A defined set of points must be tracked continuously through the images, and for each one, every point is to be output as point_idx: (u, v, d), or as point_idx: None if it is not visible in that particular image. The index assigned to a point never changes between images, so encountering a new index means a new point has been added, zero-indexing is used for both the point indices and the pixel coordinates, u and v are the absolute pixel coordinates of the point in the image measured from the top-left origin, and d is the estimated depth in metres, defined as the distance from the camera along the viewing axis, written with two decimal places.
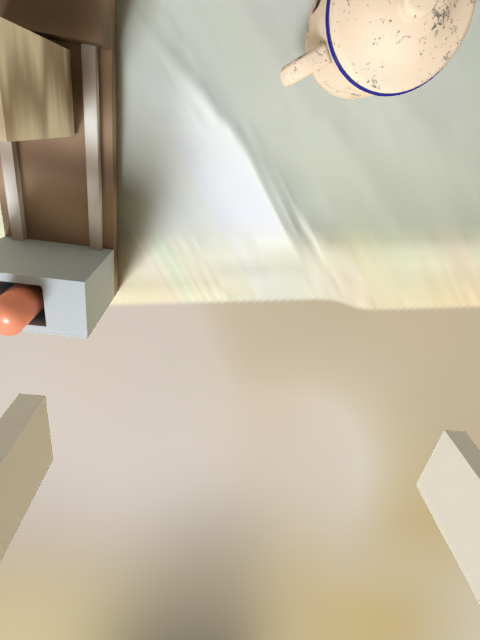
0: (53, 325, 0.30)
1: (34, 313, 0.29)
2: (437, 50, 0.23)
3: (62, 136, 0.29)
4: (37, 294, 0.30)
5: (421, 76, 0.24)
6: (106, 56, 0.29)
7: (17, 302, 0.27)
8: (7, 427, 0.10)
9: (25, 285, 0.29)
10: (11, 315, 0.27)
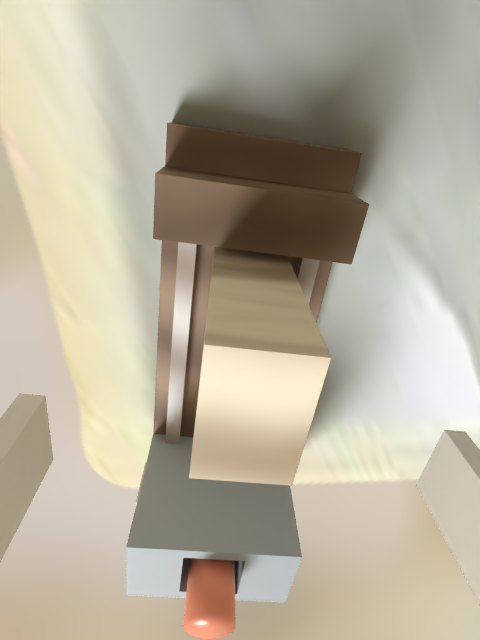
0: (245, 593, 0.23)
1: None
2: None
3: None
4: (232, 561, 0.23)
5: None
6: None
7: (227, 603, 0.20)
8: (7, 427, 0.10)
9: None
10: (220, 623, 0.20)
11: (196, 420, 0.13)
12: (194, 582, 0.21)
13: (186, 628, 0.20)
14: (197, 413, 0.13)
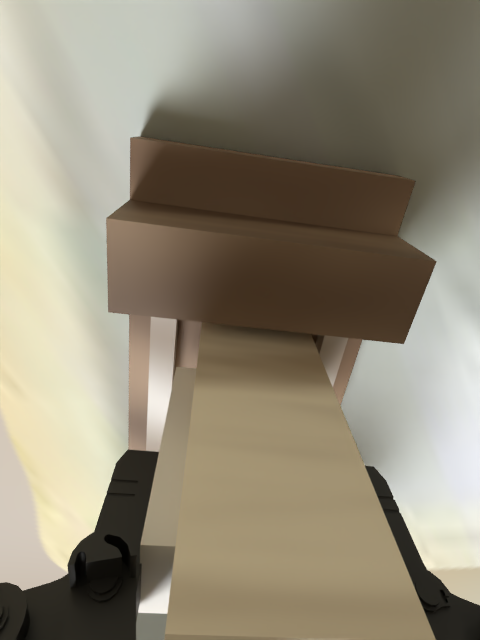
0: None
1: None
2: None
3: None
4: None
5: None
6: None
7: None
8: (181, 391, 0.12)
9: None
10: None
11: None
12: None
13: None
14: None
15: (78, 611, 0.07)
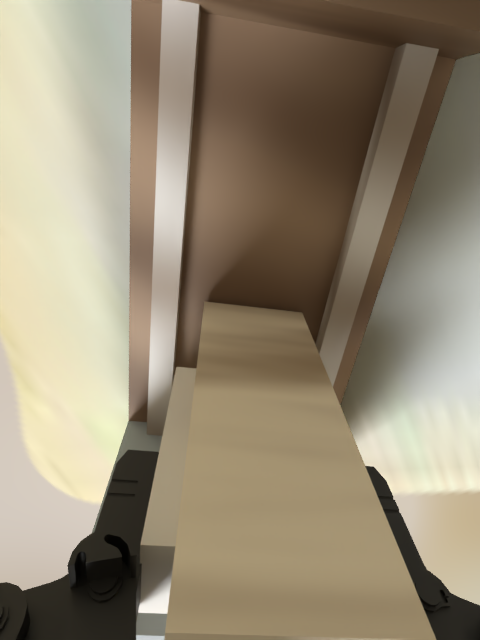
0: None
1: None
2: None
3: None
4: None
5: None
6: (439, 75, 0.12)
7: None
8: (181, 391, 0.12)
9: None
10: None
11: None
12: None
13: None
14: None
15: (78, 611, 0.07)
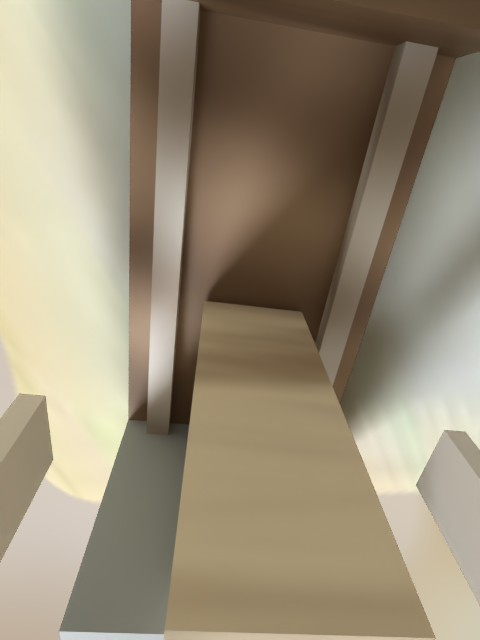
0: None
1: None
2: None
3: None
4: None
5: None
6: (439, 73, 0.12)
7: None
8: (7, 427, 0.10)
9: None
10: None
11: None
12: None
13: None
14: None
15: None
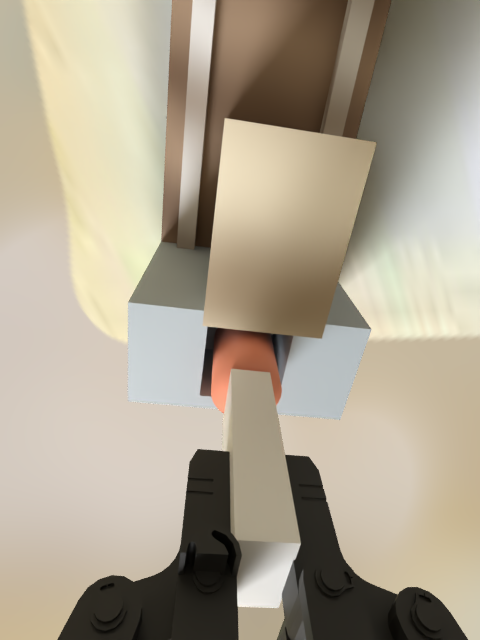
0: (289, 400, 0.17)
1: None
2: None
3: None
4: (270, 339, 0.17)
5: None
6: None
7: (270, 362, 0.15)
8: (241, 393, 0.13)
9: None
10: None
11: (213, 237, 0.11)
12: (223, 347, 0.16)
13: (214, 395, 0.15)
14: (214, 227, 0.11)
15: (185, 597, 0.07)
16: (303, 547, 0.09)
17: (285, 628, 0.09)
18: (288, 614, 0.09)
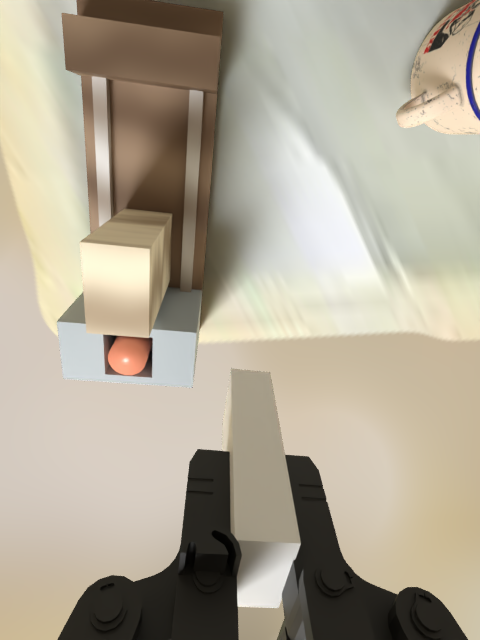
0: (159, 376, 0.29)
1: (149, 352, 0.30)
2: None
3: (166, 289, 0.32)
4: None
5: None
6: (211, 100, 0.29)
7: (139, 343, 0.28)
8: (241, 392, 0.13)
9: None
10: (134, 356, 0.28)
11: (83, 291, 0.23)
12: (118, 336, 0.29)
13: (110, 361, 0.28)
14: (83, 286, 0.23)
15: (185, 597, 0.07)
16: (303, 547, 0.09)
17: (285, 628, 0.09)
18: (288, 614, 0.09)
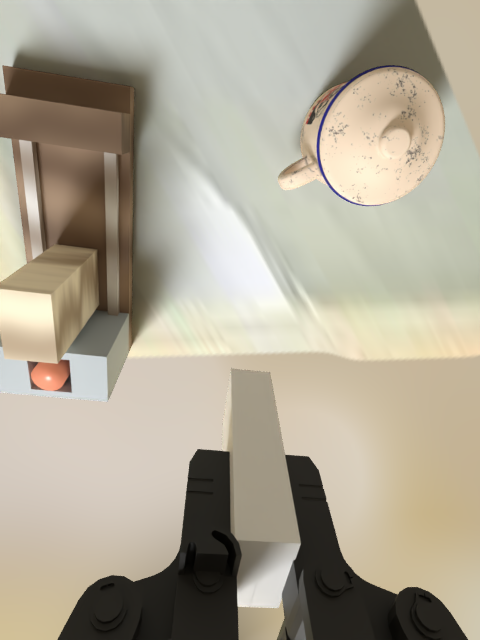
0: (77, 391, 0.34)
1: None
2: (411, 175, 0.27)
3: (91, 315, 0.37)
4: None
5: (399, 193, 0.28)
6: (125, 157, 0.33)
7: (59, 364, 0.33)
8: (241, 392, 0.13)
9: None
10: (54, 375, 0.33)
11: None
12: None
13: (33, 379, 0.33)
14: None
15: (185, 597, 0.07)
16: (303, 547, 0.09)
17: (285, 628, 0.09)
18: (288, 614, 0.09)
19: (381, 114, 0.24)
